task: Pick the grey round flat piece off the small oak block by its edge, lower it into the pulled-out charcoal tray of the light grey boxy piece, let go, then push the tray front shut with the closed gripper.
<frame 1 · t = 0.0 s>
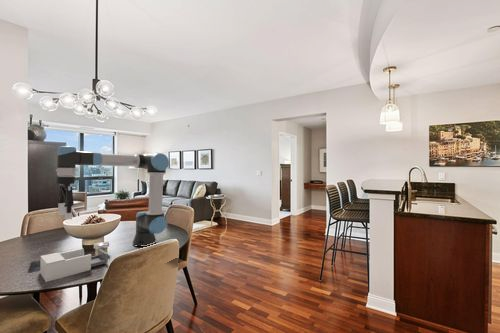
hand: (64, 217, 119), 28 cm above the table, fingers open, 13 cm apart
smartphone: (38, 267, 125), on the table
grey round flat piece: (101, 246, 143), point 5 cm above the table, touching oak block
light grey boxy piece: (65, 271, 119), on the table
oak block: (101, 254, 142), on the table
tray: (86, 259, 126), point 3 cm above the table, slide at 8.0 cm
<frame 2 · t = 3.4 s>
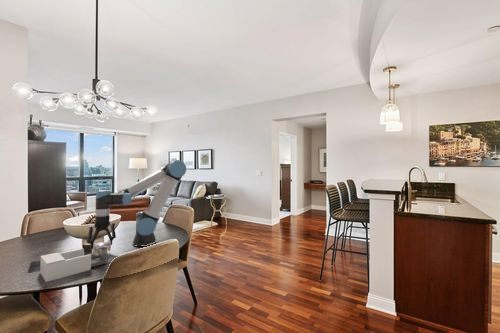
hand: (101, 252, 143), 2 cm above the table, fingers closed on grey round flat piece, 8 cm apart
grey round flat piece: (101, 246, 143), point 5 cm above the table, touching gripper, oak block
everything else where it was.
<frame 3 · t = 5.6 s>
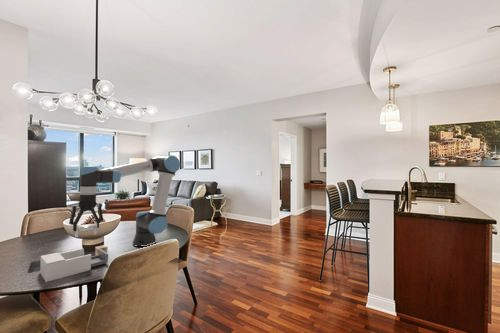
hand: (86, 235, 127), 17 cm above the table, fingers closed on grey round flat piece, 8 cm apart
grey round flat piece: (86, 229, 127), point 20 cm above the table, touching gripper
everything else where it was.
when the fingers open (2 cm above the table, at t = 8.2 s): grey round flat piece drops 4 cm, resting on tray.
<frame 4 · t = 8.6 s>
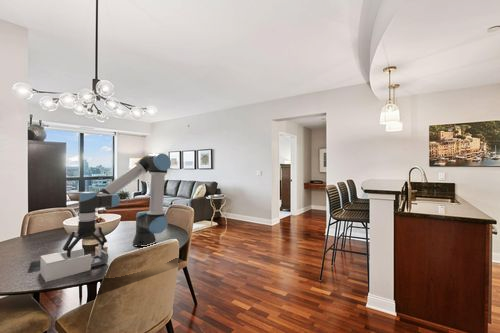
hand: (85, 259, 126), 4 cm above the table, fingers open, 13 cm apart
grey round flat piece: (85, 263, 126), point 1 cm above the table, touching tray
tray: (86, 259, 126), point 3 cm above the table, slide at 8.0 cm, touching grey round flat piece
everything else where it was.
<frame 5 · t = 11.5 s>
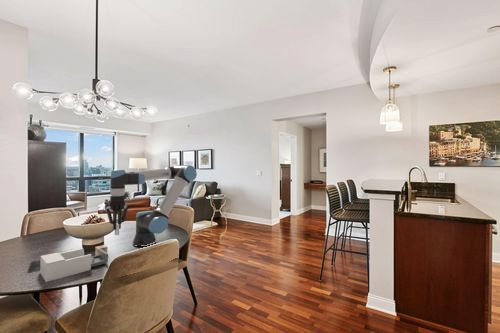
hand: (116, 234, 138), 14 cm above the table, fingers closed
nothing on the table moved.
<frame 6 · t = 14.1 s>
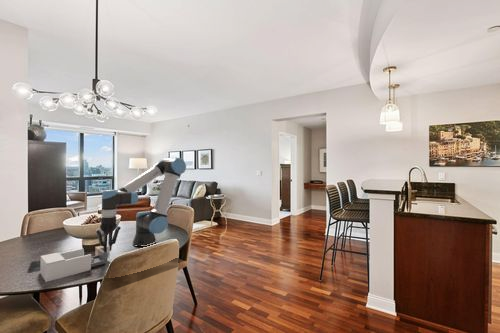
hand: (107, 256, 134), 2 cm above the table, fingers closed
tray: (86, 259, 126), point 3 cm above the table, slide at 7.8 cm, touching grey round flat piece, gripper
everything else where it was.
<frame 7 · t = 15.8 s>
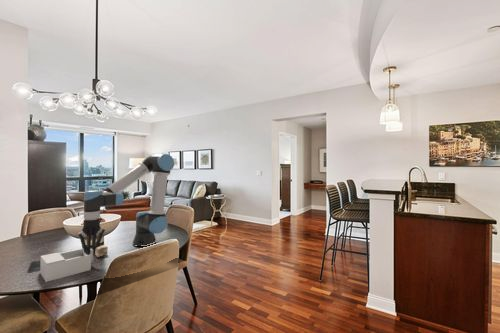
hand: (90, 261, 128), 2 cm above the table, fingers closed
grey round flat piece: (66, 268, 120), point 1 cm above the table, touching tray
tray: (68, 264, 120), point 3 cm above the table, slide at -0.2 cm, touching grey round flat piece, gripper
everything else where it was.
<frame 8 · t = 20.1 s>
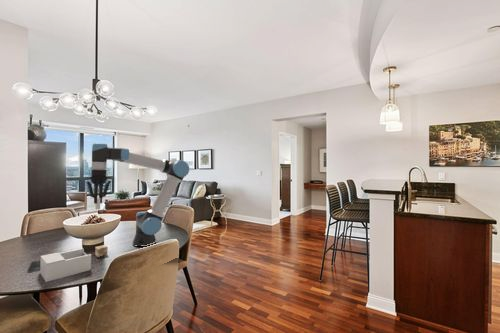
hand: (97, 208, 137), 29 cm above the table, fingers closed
tray: (68, 264, 120), point 3 cm above the table, slide at 0.0 cm, touching grey round flat piece
everything else where it was.
at the end: tray slide at 0.0 cm; grey round flat piece inside the target area on the light grey boxy piece (0.5 cm from its centre), point 1.4 cm above the light grey boxy piece's base; the gripper is holding nothing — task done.
